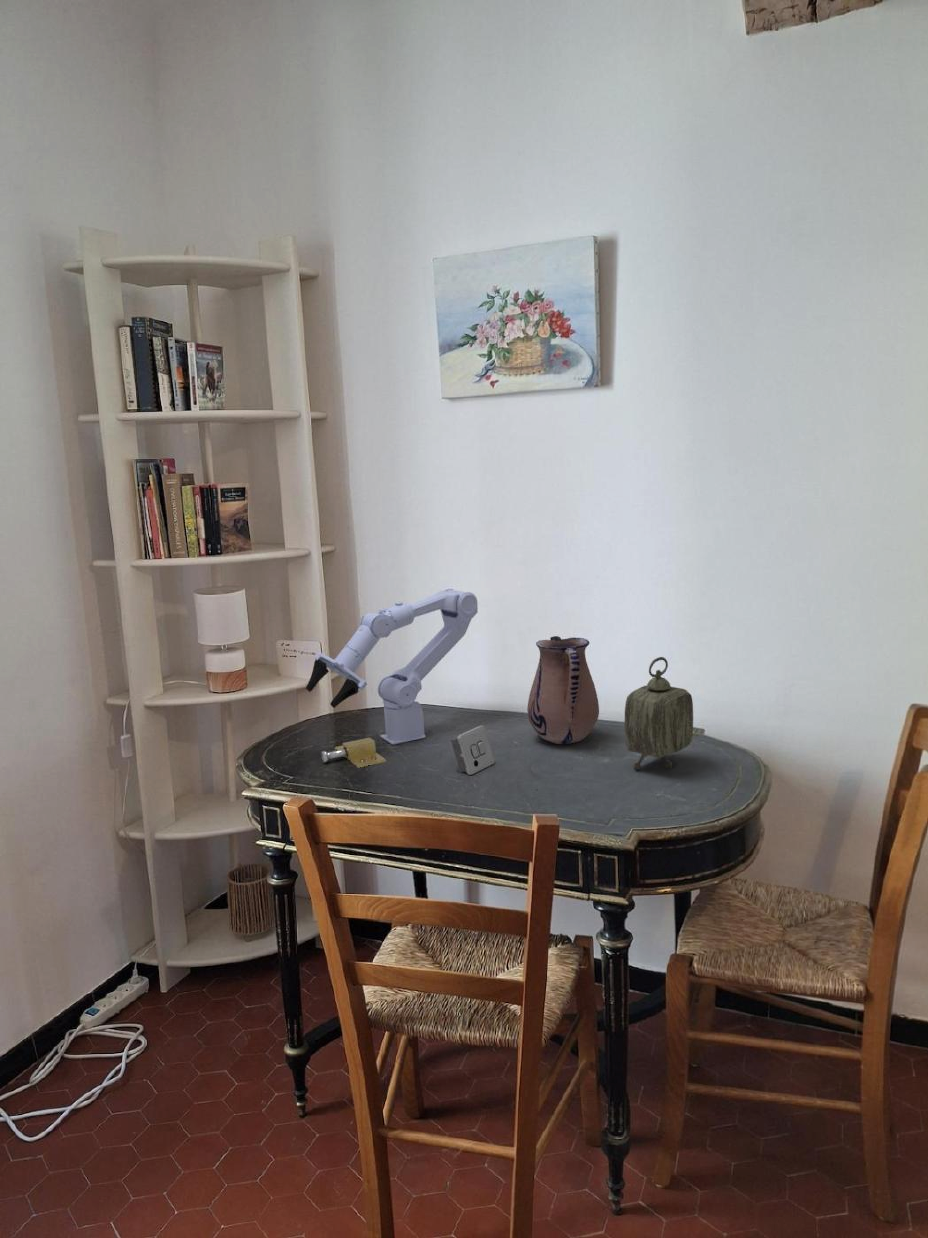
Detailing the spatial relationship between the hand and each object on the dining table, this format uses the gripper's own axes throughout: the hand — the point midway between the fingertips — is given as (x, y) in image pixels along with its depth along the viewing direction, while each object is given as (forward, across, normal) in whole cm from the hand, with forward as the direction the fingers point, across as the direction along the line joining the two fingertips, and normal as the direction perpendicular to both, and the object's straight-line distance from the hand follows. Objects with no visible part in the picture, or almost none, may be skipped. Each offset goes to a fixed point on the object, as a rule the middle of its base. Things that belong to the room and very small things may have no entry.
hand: (319, 698), depth 219 cm
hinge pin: (+8, +10, +8) cm, 16 cm away
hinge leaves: (+5, +13, +11) cm, 17 cm away
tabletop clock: (-30, +76, +2) cm, 81 cm away
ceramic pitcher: (-27, +52, +17) cm, 61 cm away
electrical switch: (-6, +40, +3) cm, 41 cm away
